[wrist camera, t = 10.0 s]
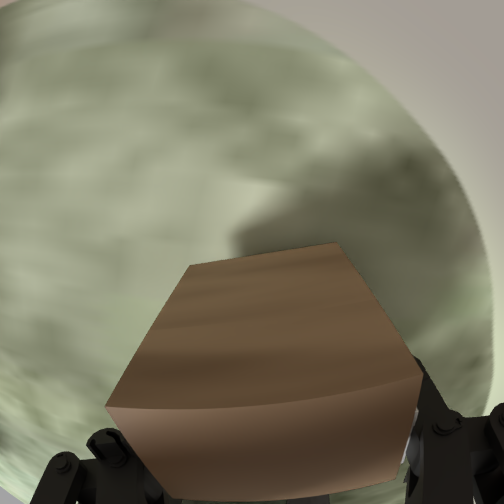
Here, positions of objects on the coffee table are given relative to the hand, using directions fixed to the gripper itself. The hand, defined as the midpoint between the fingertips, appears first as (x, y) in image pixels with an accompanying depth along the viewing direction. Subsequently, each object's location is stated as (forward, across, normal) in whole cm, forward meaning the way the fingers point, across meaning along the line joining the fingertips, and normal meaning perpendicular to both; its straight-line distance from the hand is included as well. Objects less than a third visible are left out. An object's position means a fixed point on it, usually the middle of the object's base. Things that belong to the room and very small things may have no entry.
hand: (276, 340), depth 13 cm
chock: (0, 0, 0) cm, 0 cm away
